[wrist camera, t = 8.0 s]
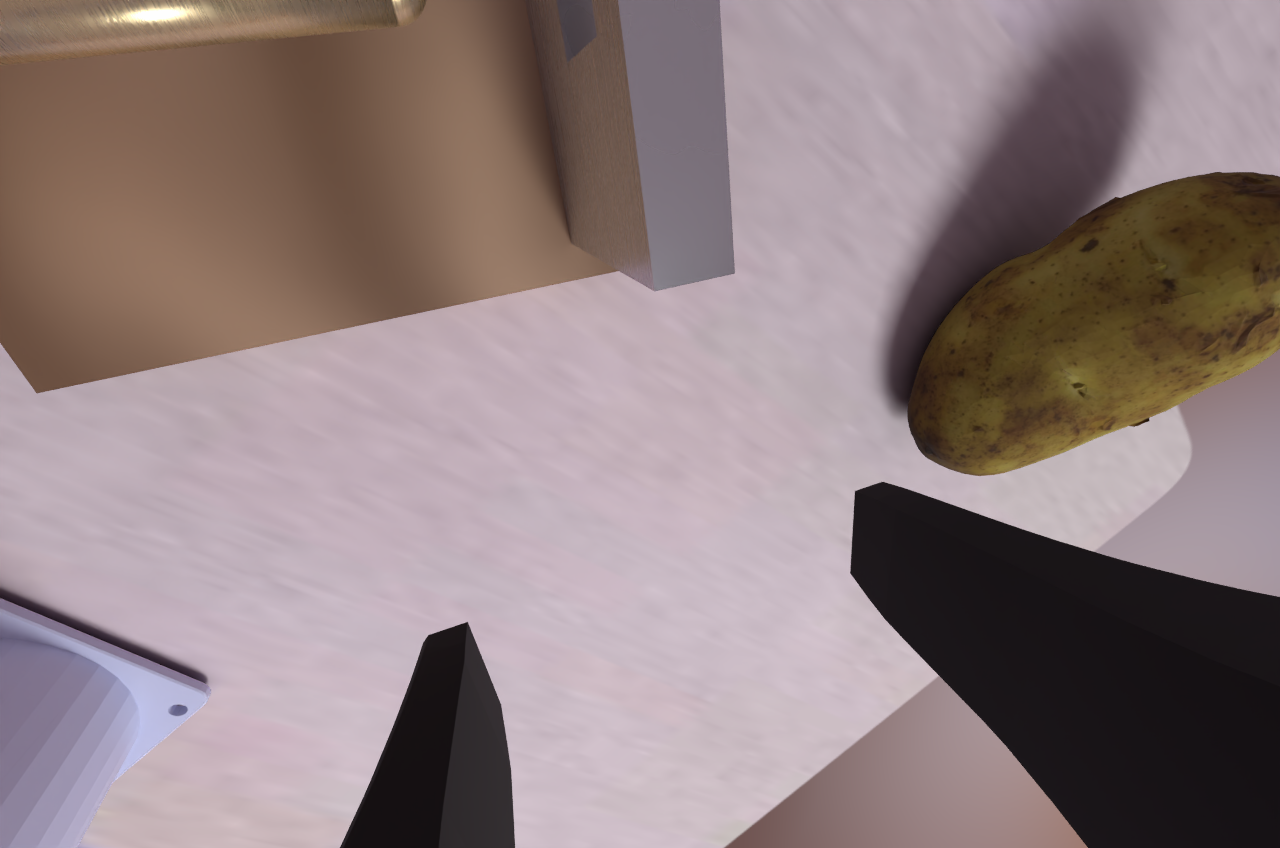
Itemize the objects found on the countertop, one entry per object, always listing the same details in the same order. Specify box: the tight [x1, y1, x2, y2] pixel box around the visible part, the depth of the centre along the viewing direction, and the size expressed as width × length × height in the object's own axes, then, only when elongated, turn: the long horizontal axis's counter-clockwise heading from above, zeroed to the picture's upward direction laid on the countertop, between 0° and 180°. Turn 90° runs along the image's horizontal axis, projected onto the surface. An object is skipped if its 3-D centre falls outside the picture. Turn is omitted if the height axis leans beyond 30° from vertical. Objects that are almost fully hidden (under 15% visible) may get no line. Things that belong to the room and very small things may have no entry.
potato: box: [908, 172, 1280, 476], centre depth 20 cm, size 8×13×8 cm, turn 117°
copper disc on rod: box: [0, 0, 427, 66], centre depth 7 cm, size 11×8×8 cm
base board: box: [0, 0, 618, 393], centre depth 13 cm, size 18×12×2 cm, turn 97°
